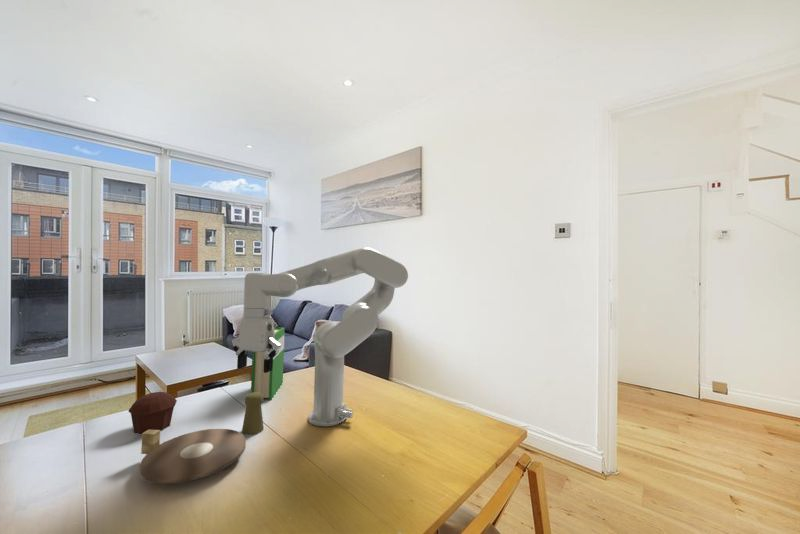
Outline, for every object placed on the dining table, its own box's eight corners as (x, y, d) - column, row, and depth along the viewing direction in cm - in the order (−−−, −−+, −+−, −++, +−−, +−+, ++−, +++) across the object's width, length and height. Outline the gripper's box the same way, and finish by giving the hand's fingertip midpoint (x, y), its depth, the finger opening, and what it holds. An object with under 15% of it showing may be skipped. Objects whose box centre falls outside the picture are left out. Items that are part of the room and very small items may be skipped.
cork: (255, 436, 93) (256, 398, 93) (237, 433, 94) (238, 396, 94) (267, 426, 99) (269, 391, 99) (250, 424, 100) (251, 389, 100)
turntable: (244, 426, 94) (245, 409, 94) (247, 467, 75) (247, 445, 75) (146, 443, 84) (147, 424, 84) (119, 497, 64) (120, 471, 64)
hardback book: (271, 400, 119) (273, 335, 119) (250, 400, 118) (253, 335, 118) (282, 383, 136) (284, 327, 137) (264, 384, 135) (266, 327, 136)
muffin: (161, 416, 104) (162, 385, 104) (184, 422, 100) (185, 390, 100) (118, 432, 93) (119, 398, 93) (142, 440, 89) (143, 404, 89)
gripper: (288, 313, 98) (286, 369, 98) (243, 310, 103) (241, 363, 103) (272, 316, 91) (270, 377, 90) (224, 312, 96) (222, 369, 96)
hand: (254, 369), depth 97 cm, fingers open, 9 cm apart
